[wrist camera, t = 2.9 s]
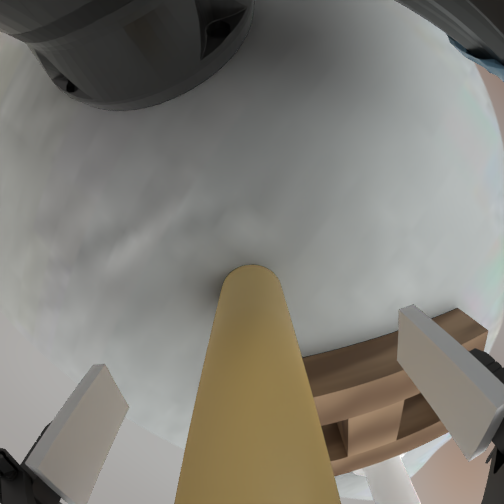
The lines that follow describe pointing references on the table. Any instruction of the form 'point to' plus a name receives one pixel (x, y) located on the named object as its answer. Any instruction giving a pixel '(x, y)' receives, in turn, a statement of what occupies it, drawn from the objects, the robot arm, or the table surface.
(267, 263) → the table surface
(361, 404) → the socket block
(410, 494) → the candle
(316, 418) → the peg
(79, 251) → the table surface
